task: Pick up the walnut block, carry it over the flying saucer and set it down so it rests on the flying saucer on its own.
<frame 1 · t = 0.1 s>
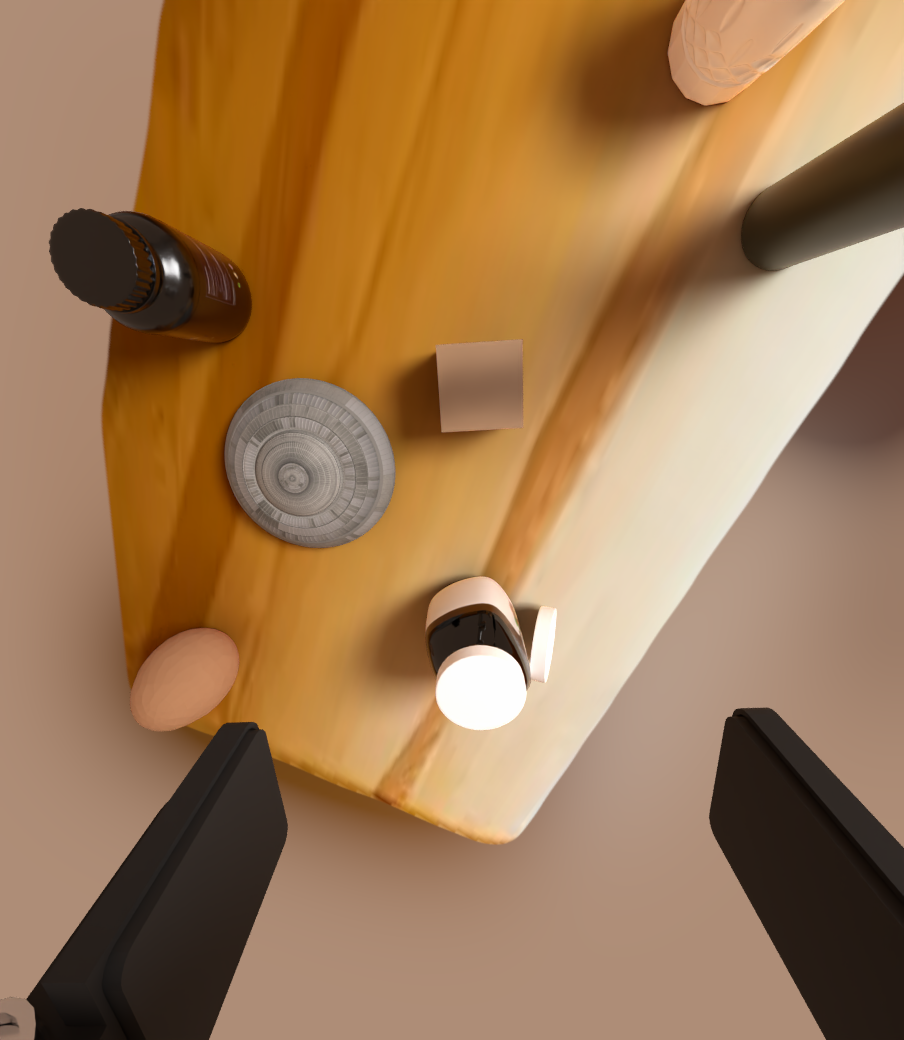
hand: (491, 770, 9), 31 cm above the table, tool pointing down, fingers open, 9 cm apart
flying saucer: (316, 464, 39), on the table
wine bottle: (778, 228, 32), on the table
spread jar: (496, 613, 43), on the table
white cup: (716, 46, 29), on the table
walnut block: (477, 386, 36), on the table
egg: (220, 641, 45), on the table
supplement bottle: (215, 298, 35), on the table
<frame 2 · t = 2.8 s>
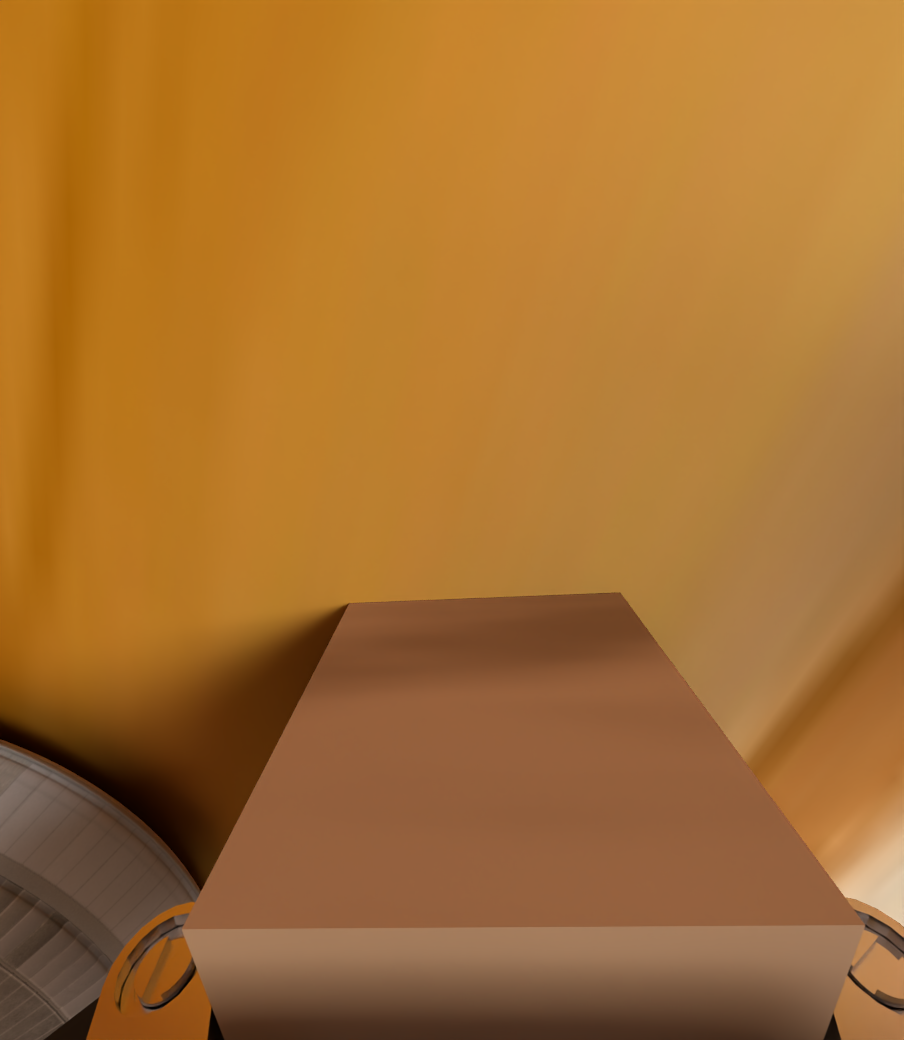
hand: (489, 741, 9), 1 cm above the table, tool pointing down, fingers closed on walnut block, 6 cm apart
flying saucer: (10, 867, 13), on the table
walnut block: (487, 708, 10), on the table, touching gripper
when the fingers open (6 cm above the table, at t = 9.0 s): walnut block stays where it is, resting on flying saucer.
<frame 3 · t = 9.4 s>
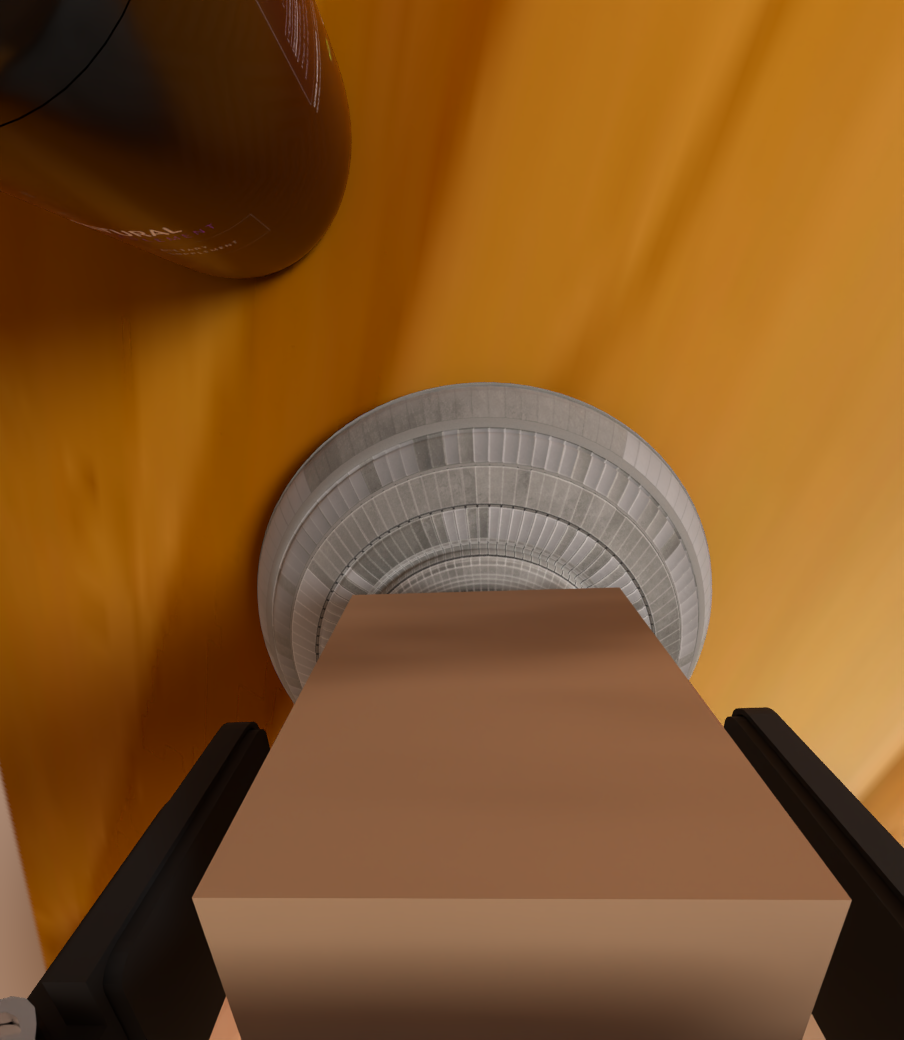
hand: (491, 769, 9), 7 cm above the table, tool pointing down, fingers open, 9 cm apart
flying saucer: (478, 594, 16), on the table, touching walnut block
spread jar: (837, 893, 20), on the table
walnut block: (487, 700, 11), point 5 cm above the table, touching flying saucer
egg: (236, 927, 22), on the table
supplement bottle: (236, 145, 11), on the table
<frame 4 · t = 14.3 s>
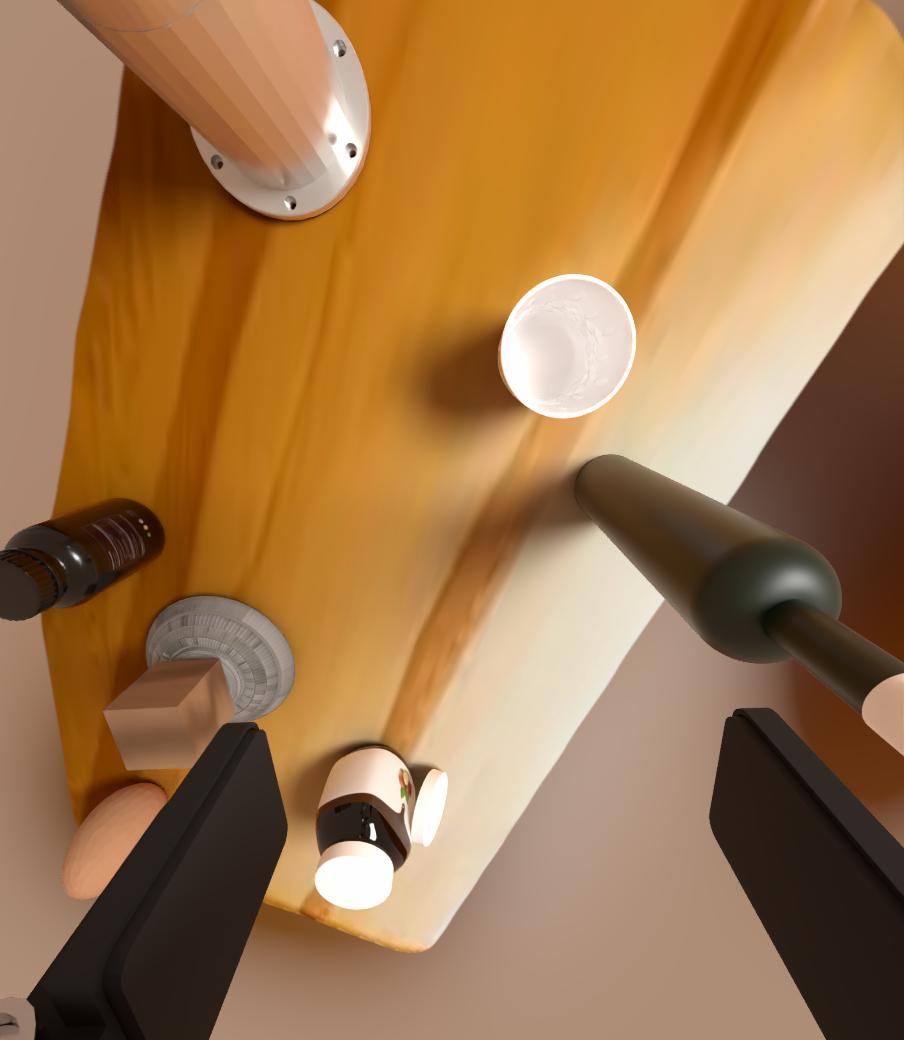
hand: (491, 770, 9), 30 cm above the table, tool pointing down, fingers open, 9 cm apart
flying saucer: (229, 652, 45), on the table, touching walnut block
wine bottle: (606, 486, 38), on the table
spread jar: (396, 769, 49), on the table
white cup: (538, 358, 35), on the table
walnut block: (196, 687, 39), point 5 cm above the table, touching flying saucer
egg: (155, 787, 51), on the table
supplement bottle: (134, 530, 40), on the table
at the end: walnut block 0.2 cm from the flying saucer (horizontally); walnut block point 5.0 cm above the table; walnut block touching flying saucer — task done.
